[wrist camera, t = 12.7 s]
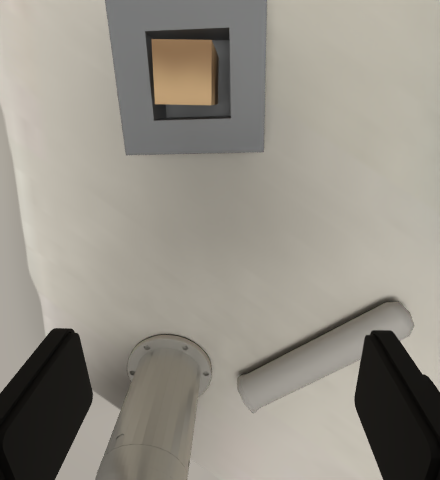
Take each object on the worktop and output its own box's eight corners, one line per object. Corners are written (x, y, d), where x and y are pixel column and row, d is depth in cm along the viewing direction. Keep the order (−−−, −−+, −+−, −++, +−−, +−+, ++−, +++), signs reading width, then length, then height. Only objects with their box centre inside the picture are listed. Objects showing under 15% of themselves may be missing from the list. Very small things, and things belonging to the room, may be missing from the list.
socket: (259, 143, 37) (263, 151, 31) (144, 145, 38) (125, 155, 32) (261, 4, 32) (267, -20, 26) (129, 10, 33) (103, -11, 27)
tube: (404, 300, 40) (233, 387, 46) (429, 338, 40) (254, 420, 46) (392, 289, 45) (240, 368, 51) (414, 322, 45) (259, 398, 51)
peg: (218, 104, 35) (211, 105, 26) (176, 103, 35) (154, 104, 26) (218, 56, 33) (211, 39, 24) (174, 56, 34) (151, 39, 24)
